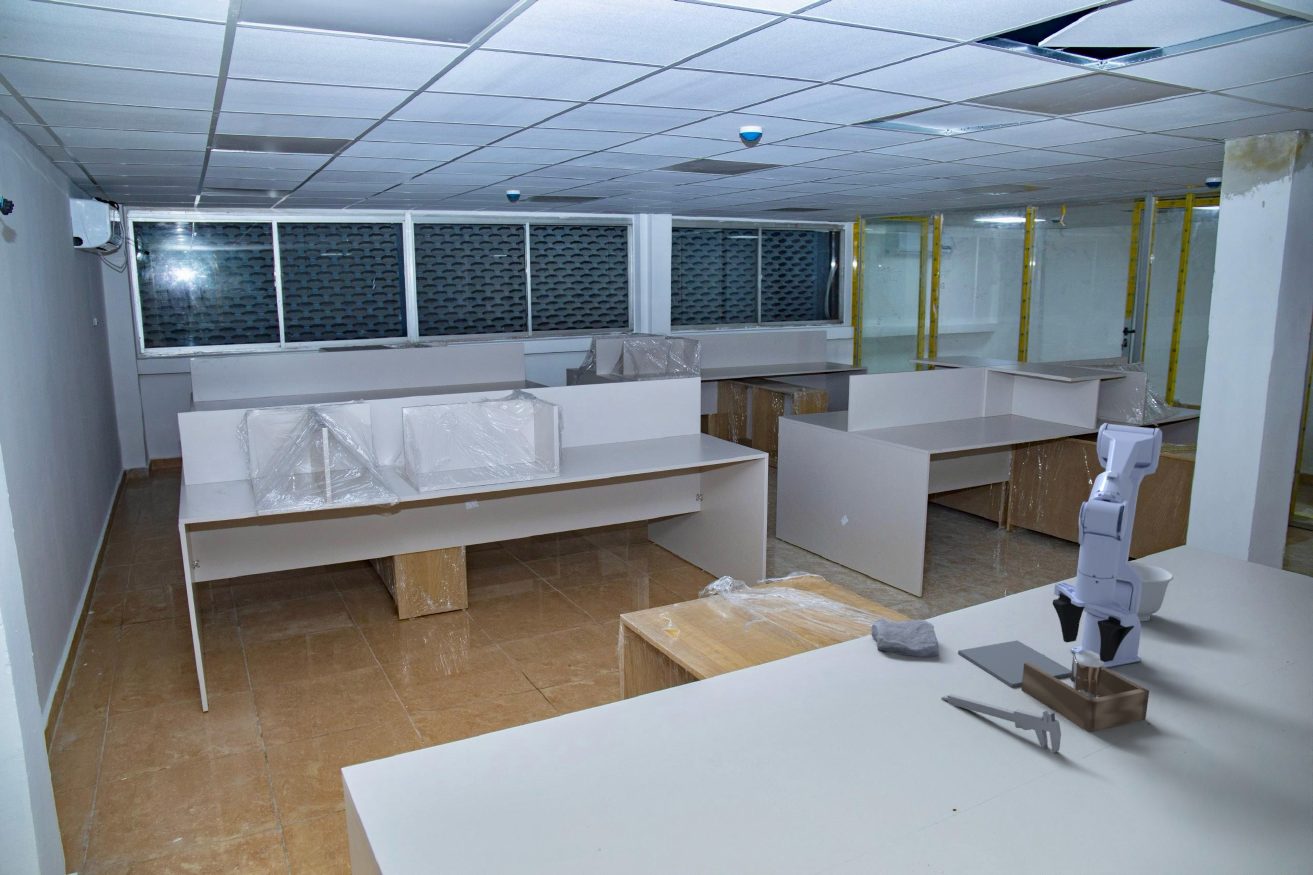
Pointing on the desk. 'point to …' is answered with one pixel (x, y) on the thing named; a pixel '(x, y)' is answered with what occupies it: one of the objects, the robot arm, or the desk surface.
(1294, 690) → the desk surface
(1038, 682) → the open box
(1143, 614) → the teacup
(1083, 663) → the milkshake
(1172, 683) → the desk surface
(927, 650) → the stone block
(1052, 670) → the mat
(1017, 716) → the caliper
